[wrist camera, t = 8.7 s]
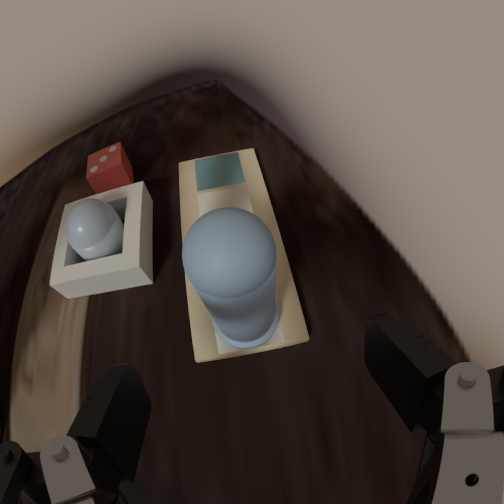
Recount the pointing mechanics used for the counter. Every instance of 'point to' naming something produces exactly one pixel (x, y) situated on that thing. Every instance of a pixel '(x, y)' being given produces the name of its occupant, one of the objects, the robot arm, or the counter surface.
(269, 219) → the track
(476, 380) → the robot arm
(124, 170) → the die
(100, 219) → the light blue rounded piece
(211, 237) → the pawn
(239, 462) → the counter surface
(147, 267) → the base
